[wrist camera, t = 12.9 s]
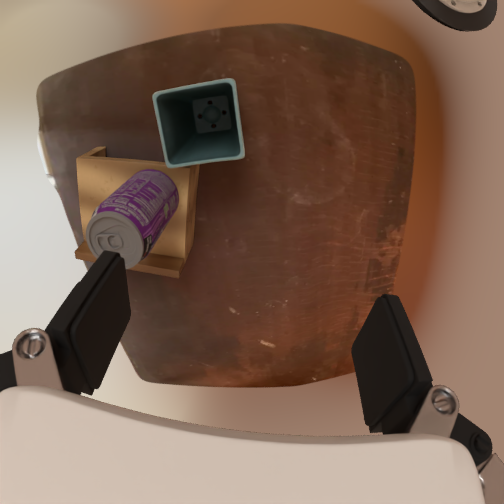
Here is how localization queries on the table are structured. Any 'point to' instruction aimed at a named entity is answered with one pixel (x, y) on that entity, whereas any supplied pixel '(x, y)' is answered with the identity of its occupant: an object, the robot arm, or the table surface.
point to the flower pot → (199, 123)
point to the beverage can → (133, 216)
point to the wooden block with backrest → (117, 173)
